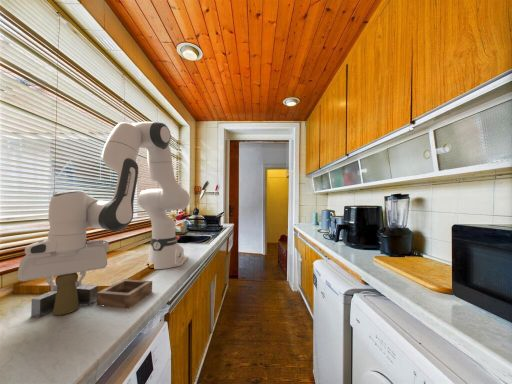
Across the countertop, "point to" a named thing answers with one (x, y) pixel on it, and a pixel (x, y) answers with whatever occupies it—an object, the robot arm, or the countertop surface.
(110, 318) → the countertop surface
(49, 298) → the v block
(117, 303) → the sleeve
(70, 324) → the countertop surface
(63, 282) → the cork
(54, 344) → the countertop surface
